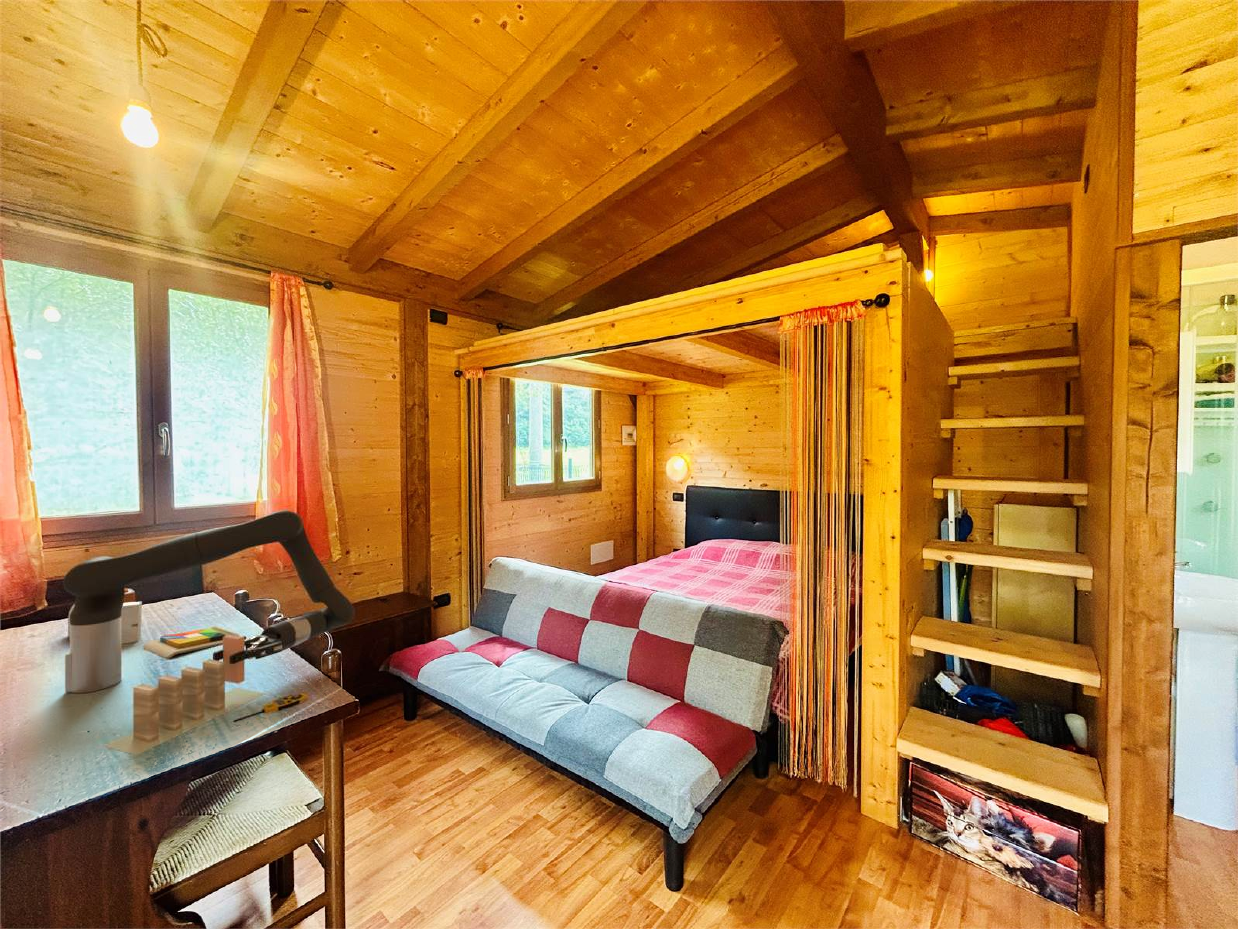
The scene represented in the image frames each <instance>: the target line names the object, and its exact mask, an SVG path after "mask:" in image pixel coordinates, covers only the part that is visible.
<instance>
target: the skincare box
mask: <svg viewBox="0 0 1238 929" xmlns="http://www.w3.org/2000/svg"><path fill="white" fill-rule="evenodd" d="M142 607H143V602H142V601H135V602H128V603H123V607H122V611H121V645H122V644H129V643H136V642H138V641H140V639H141V636H142V635H141V634H142V613H143V612H142Z"/></svg>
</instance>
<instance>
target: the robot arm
mask: <svg viewBox="0 0 1238 929" xmlns="http://www.w3.org/2000/svg"><path fill="white" fill-rule="evenodd" d="M274 543H279V544H280V545H281V546H282V548H283V549H284V550H285V551H286V553H287V555H288V557H289V559H290V560H291V561H292V564H293V566H294V569H295V571H296V573H297V575H298V578H299V581H300V582H301V584H302V586H303V588H304V590H305V592H306V593H307V595H308V596H309V598H310V600H311V601H312V602H313V603H314V604H321V603H322V604H324V605H325V606H326V607H325V608H323V609H320V610H318V611H315V612H314V611H313V612H308V613H305V614H302V615H301V616H300V615H299V616H297V617H292V618H290V619H289V618H288V619H286V620H282V621H280V622H278V623H277V622H276V623H275V624H274V623H273V624H271V625H269V626H266V627H265V628H264V629H263V630H262V632H261V634H256V635H254V636H252V637H249V638H247V635H242V636H241V637H244V650H243V651H241V652H238V653H235V654H232V655H230V657H229V663H230V664H235V663H238V662H240V661H243V660H244V661H245V660H252V659H255V660H260V659H262V658H266V657H269V656H272V655H275V654H278V653H282V652H283V651H286V650H288V649H290V648H292V647H296V646H298V645H300V644H302V643H303V642H305V641H308V640H311V639H313V638H315V637H317V636H319V635H321V634H324V633H327V632H330V631H332V630H335V629H338V628H340V627H342V626H344V625H348V624H349V623H350V622H352V620H353V619H354V617H355V607H354V606H353V604H352V602H351V601H350V600H349V599H348V597H346V596H345V595H344V594H343V593H342V592H341V591H340V590H339V589H338V588H336V586H335V584H334V582H333V580H332V579H331V577H330V575H329V573H328V572H327V570H326V568H325V567H324V566H323V564H322V562H321V561H320V559H319V558H318V556H317V554H316V552H315V551H314V548H313V547H312V545H311V542H310V540H309V538H308V536H307V532H306V529H305V527H304V521H303V519H302V517H301V516H300V515H299V514H298V513H297V512H295V511H293V510H292V511H291V510H288V509H287V510H286V509H285V510H284V509H283V510H277V511H275V512H273V513H270V514H267V515H264V516H262V517H259V518H255V519H252V520H250V521H246V522H243V523H242V522H241V523H239V524H235V525H234V524H233V525H228V526H221V527H216V528H210V529H206V530H201V531H197V532H193V533H189V534H186V535H182V536H178V537H175V538H172V539H169V540H166V541H163V542H160V543H158V544H155V545H152V546H150V547H147V548H145V549H143V550H139V551H136V552H133V553H130V554H129V553H128V554H125V555H120V556H116V557H115V556H114V557H112V556H103V555H102V556H101V555H100V556H96V557H91V558H90V559H87V560H84V561H82V562H80V563H78V564H76V565H75V566H73V567H71V569H69V571H68V572H67V573H66V574H65V576H64V578H63V582H62V585H63V588H64V590H65V591H66V592H67V593H69V594H70V595H73V596H75V603H74V604H75V605H74V604H73V605H74V608H73V610H72V612H71V614H70V638H69V652H68V653H66V655H65V656H64V679H65V680H64V686H65V687H64V689H65V690H64V693H74V694H84V693H90V692H91V693H92V692H95V691H101V690H103V689H107V688H110V687H113V686H115V685H116V684H118V683H120V682H121V681H122V673H123V672H122V644H121V611H122V607H123V603H124V596H125V588H126V586H127V585H130V584H133V583H135V582H139V581H143V580H145V579H150V578H154V577H159V576H163V575H169V574H173V573H177V572H180V571H185V570H189V569H194V568H196V567H200V566H205V565H207V564H210V563H211V564H212V563H214V562H216V561H220V560H222V559H226V558H228V557H230V556H233V555H235V554H237V553H239V552H241V551H245V550H247V549H250V548H251V549H252V548H254V547H259V546H265V545H269V544H274ZM212 660H216V661H222V660H223V648H222V649H220V650H217V651H214V652H213V653H212Z"/></svg>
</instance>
